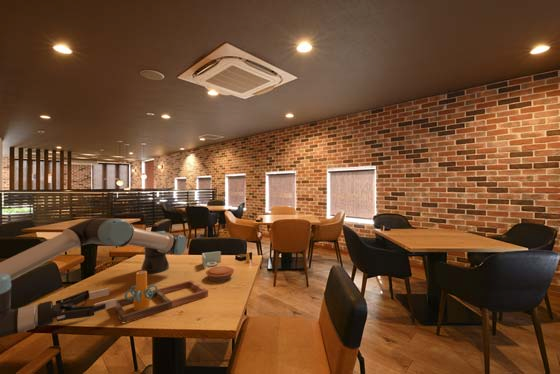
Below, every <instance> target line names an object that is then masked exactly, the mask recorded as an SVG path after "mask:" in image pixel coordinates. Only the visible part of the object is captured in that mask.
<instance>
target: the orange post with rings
mask: <svg viewBox="0 0 560 374" xmlns="http://www.w3.org/2000/svg"><path fill="white" fill-rule="evenodd" d="M152 287H153V288H155V289H154V290H155V291H154V292H153V289H151V288H152ZM157 289H158V286H157V285H155V284H150V285H149V286H148V273H147V271H142V270H140V271H137V272H136V273H135V285H133V286H131V288H130V289H128V290H126V292H125V294H124V298H125V299H127V300H132V299H134V300H133V303H132V305H133V310H134V312H135V311H139V310H142V309H145V308H148V307H151V306H150V304H151V303H150V301H151V300H150V299H152V298H154V297H153V294H155V293H156V291H157ZM149 291H150V292H151V293H149ZM129 293H130V294H131V296H133V297H132V298H128V297H129V296H128V294H129ZM148 294H149V295H151V296H149V295H148Z"/></svg>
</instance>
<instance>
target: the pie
mask: <svg viewBox="0 0 560 374" xmlns="http://www.w3.org/2000/svg"><path fill="white" fill-rule="evenodd" d="M234 271H235V269H234V268H233V267H230V266H227V265H226V266H225V265H222V266H221V265H219V266H218V265H217V266H215V267H210V268H209V269H207V270H206V271H205V275H207V277H208V278H209V280H210V281H212V282H223V281H224V282H225V281H227V280H229V279H230V278H231V277H232V275H233V274H234Z"/></svg>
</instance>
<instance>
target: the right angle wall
mask: <svg viewBox="0 0 560 374" xmlns="http://www.w3.org/2000/svg"><path fill="white" fill-rule="evenodd" d="M201 256H202V257H201V261H202V262H201V263H202V267H203V269H204V270H206V269H207V266H208V268H213V266H215V267H218V263H221V261H222V251H211V252H202V253H201ZM206 263H207V264H206Z"/></svg>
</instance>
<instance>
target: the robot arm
mask: <svg viewBox="0 0 560 374" xmlns="http://www.w3.org/2000/svg"><path fill="white" fill-rule="evenodd" d="M88 244H89V245H90V244H95V245H104V246H109V247H112V246H113V247H118V248H119V247H121V248H123V247H125V246H127V245H129V246H133V247H134V246H135V247H140V248H141V247H142V248H144V260H143V263H142V266H141V271H147V274H155V273H162V272H165V271H167V270H168V269H169V268H170V263H169V261H168V259H167V258H168V257H167V255H174V256H182V254H184V252H185V251H186V248H187V245H188V241H187V238H186V236H185V235H183V234H174V233H171V232H166V230H161V231H152V230H151V231H150V230H147V229H143V228H139V227H135V226H134V225H133V224H132V223H130V222H128V221H127V220H125V219H123V218H115V217H114V218H107V217H106V218H105V217H92V218H89V219H86V220H83V221H81V222H78V223H76V224H74V225H71V226H69V227H67V228H65V229H63V231H62V233H59V234H58V235H56V236H54V237H52V238H49V239H48V240H46V241H45V240H44V241H43V242H41V243H39V244H37V245H35V246H32V247H30V248H28V249H26V250H24V251H21V252H19V253H17V254H16V255H13V256H11V257H9V258H7V259H5V260H3V261H1V262H0V339H2V338H5V337H9V336H12V335H16V334H19V333H20V334H21V333H27V331H30V330H33V329H36V327H38V328H41V327H45V326H49V325H52V324H53V322H54V319H56V322H62V321H66V320H73V319H74V320H75V319H80V318H82V319H83V318H90V317H93V316H95V313H97V312H101V311H104V310H108V309H111V308H113V307H115V306H116V300H117V299H116V298H112V299H108V300H104V301H100V302H97V303H94V304H93V305H79V304H82V303H83V302H85V301H87V300H88V299H89V300H93V299H97V298H102V297H106V296H109V295H110V288H109V287H106V288H102V289H97V290H94V291H93V290H92V291H90V290H84V291H80V292H79V293H76V294H74V295H70V296H68V297H65V298H62V299H59V300H56V301H55V304H54V302H53V300H48V301H45V302H40V303H38V305H36V304H31V305H26V306H21V307H18V308H13V309H12V308H11V307H12V305H11V301H12V286H13V285H12V281H13V280H16V279H18V278H19V277H21V276H22V275H25V274H27V273H28V272H30V271H33V270H35V269H36V268H38V267H40V266H42V265H44V264H45V263H47V262H49V261H51V260H53V259H55V258H56V257H59V256H60V255H63V254H64V253H66V252H68V251H69V250H71V249H78V248H81V247H82V246H85V245H88Z"/></svg>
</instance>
